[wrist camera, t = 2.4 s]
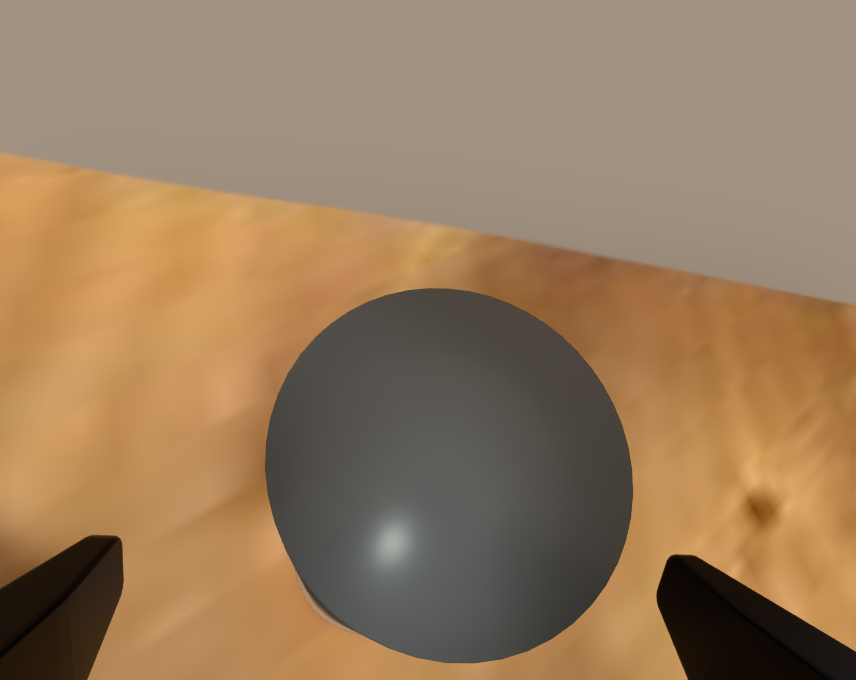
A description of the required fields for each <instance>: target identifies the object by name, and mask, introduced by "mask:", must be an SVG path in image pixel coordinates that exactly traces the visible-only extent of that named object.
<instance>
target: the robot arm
mask: <svg viewBox="0 0 856 680" xmlns="http://www.w3.org/2000/svg"><path fill="white" fill-rule="evenodd" d="M123 582H124V576H123V550H122V542H121V539H120V538H119V537H118V536H110V535H90V536H88V537H86V538H84V539H82V540H80V541H79V542H77V543H75V544H74V545H72V546H70V547H69V548H67V549H65V550H64V551H62V552H60V553H59V554H57V555H55V556H54V557H52V558H50V559H49V560H47V561H45V562H44V563H42V564H40V565H39V566H37V567H35V568H34V569H32V570H30V571H29V572H27V573H26V574H24V575H22V576H21V577H19V578H17V579H16V580H14V581H12V582H11V583H9V584H7V585H6V586H4V587H2V588H1V589H0V680H87V679H88V677H89V674H90V672H91V669H92V667H93V664H94V662H95V659H96V657H97V654H98V652H99V649H100V647H101V644H102V642H103V639H104V637H105V634H106V632H107V629H108V627H109V624H110V622H111V619H112V617H113V614H114V612H115V609H116V607H117V604H118V602H119V599H120V597H121V593H122V589H123ZM656 597H657V604H658V607H659V610H660V612H661V615H662V617H663V620H664V622H665V625H666V627H667V629H668V632H669V634H670V637H671V639H672V642H673V644H674V646H675V649H676V651H677V654H678V656H679V659H680V661H681V663H682V666H683V668H684V671H685V673H686V676H687V678H688V680H856V652H855V651H854V650H852V649H850V648H849V647H847V646H845V645H844V644H842V643H840V642H839V641H837V640H835V639H834V638H832V637H830V636H829V635H827V634H825V633H824V632H822V631H820V630H819V629H817V628H815V627H814V626H812V625H810V624H809V623H807V622H805V621H804V620H802V619H800V618H799V617H797V616H795V615H794V614H792V613H790V612H789V611H787V610H785V609H784V608H782V607H780V606H779V605H777V604H775V603H774V602H772V601H770V600H769V599H767V598H765V597H763V596H762V595H760V594H758V593H757V592H755V591H753V590H752V589H750V588H748V587H747V586H745V585H743V584H742V583H740V582H738V581H737V580H735V579H733V578H732V577H730V576H728V575H727V574H725V573H723V572H722V571H720V570H718V569H717V568H715V567H713V566H712V565H710V564H708V563H707V562H705V561H703V560H702V559H700V558H698V557H696V556H693V555H678V554H675V555H672V556H670V557H669V558H668V560H667V562H666V565H665V568H664V571H663V574H662V577H661V580H660V583H659V586H658V589H657V596H656Z"/></svg>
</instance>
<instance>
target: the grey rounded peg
mask: <svg viewBox="0 0 856 680" xmlns="http://www.w3.org/2000/svg"><path fill="white" fill-rule="evenodd" d="M265 471H266V481H267V491H268V497H269V501H270V505H271V510H272V514H273V518H274V522H275V524H276V527H277V529H278V532H279V534H280V537H281V539H282V542H283V545H284V547H285V549H286V551H287V553H288V555H289V557H290V559H291V561H292V563H293V565H294V567H295V571H296V575H297V579H298V582H299V585H300V587H301V590H302V592H303V594H304V595H305V597H306V599H307V601H308V602H309V603H310V605H311V606H312V607H313V609H314V610H315V611H316V612H317V613H318V614H319V615H320V616H321V617H322V618H324V619H325V620H326V621H328V622H329V623H330V624H332V625H334V626H336V627H338V628H340V629H341V630H344V631H347V632H350V633H353V634H359V635H363V636H365V637H367V638H369V639H371V640H373V641H375V642H377V643H379V644H381V645H383V646H385V647H387V648H389V649H392V650H395V651H398V652H401V653H404V654H407V655H410V656H413V657H416V658H421V659H427V660H432V661H438V662H444V663H479V662H486V661H493V660H500V659H504V658H507V657H510V656H513V655H517V654H520V653H523V652H526V651H529V650H531V649H533V648H535V647H537V646H539V645H541V644H543V643H545V642H547V641H549V640H551V639H552V638H554V637H555V636H556V635H558V634H559V633H561V632H562V631H563V630H565V629H566V628H567V627H569V626H570V625H572V624H573V623H574V622H575V621H576V620H577V619H578V618H579V617H580V616H581V615H582V614H583V613H584V612H585V611H586V610H587V609H588V608H589V607H590V606H591V605H592V604H593V602H594V601H595V600H596V598H597V597H598V595H599V594H600V593H601V591H602V590H603V589H604V587H605V586H606V584H607V582H608V581H609V579H610V577H611V575H612V573H613V571H614V569H615V567H616V566H617V564H618V561H619V558H620V556H621V553H622V550H623V547H624V545H625V542H626V538H627V533H628V529H629V524H630V520H631V511H632V499H633V482H632V467H631V461H630V454H629V448H628V444H627V441H626V437H625V434H624V430H623V427H622V424H621V421H620V419H619V416H618V414H617V412H616V409H615V407H614V404H613V402H612V401H611V399H610V397H609V395H608V393H607V391H606V390H605V388H604V386H603V384H602V383H601V381H600V380H599V378H598V377H597V375H596V374H595V373H594V371H593V370H592V368H591V367H590V366H589V364H588V363H587V362H586V361H585V360H584V359H583V357H582V356H581V355H580V354H579V353H578V352H577V350H575V349H574V348H573V347H572V346H571V345H570V344H569V343H568V342H567V341H566V340H565V339H564V338H563V337H562V336H561V335H559V334H558V333H557V332H555V331H554V330H553V329H552V328H550V327H549V326H548V325H546V324H545V323H544V322H542V321H540V320H539V319H537V318H536V317H534V316H532V315H531V314H529V313H527V312H526V311H524V310H521V309H519V308H517V307H515V306H513V305H511V304H509V303H507V302H504V301H501V300H498V299H495V298H493V297H490V296H486V295H482V294H478V293H474V292H470V291H462V290H455V289H433V288H427V289H417V290H408V291H403V292H399V293H394V294H390V295H386V296H383V297H380V298H378V299H375V300H372V301H369V302H367V303H365V304H363V305H361V306H359V307H357V308H355V309H353V310H351V311H349V312H347V313H346V314H344V315H343V316H341V317H340V318H338V319H337V320H336V321H334V322H333V323H331V324H330V325H329V326H328V327H327V328H326V329H324V330H323V331H322V332H321V333H320V334H319V335H318V336H316V337H315V338H314V340H313V341H312V342H311V343H310V344H309V345H308V346H307V348H306V349H305V350H304V351H303V352H302V353H301V355H300V356H299V358H298V359H297V361H296V362H295V364H294V365H293V367H292V368H291V370H290V371H289V373H288V375H287V377H286V379H285V381H284V383H283V385H282V387H281V389H280V391H279V393H278V396H277V399H276V402H275V405H274V408H273V411H272V415H271V418H270V423H269V429H268V435H267V440H266V461H265Z"/></svg>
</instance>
